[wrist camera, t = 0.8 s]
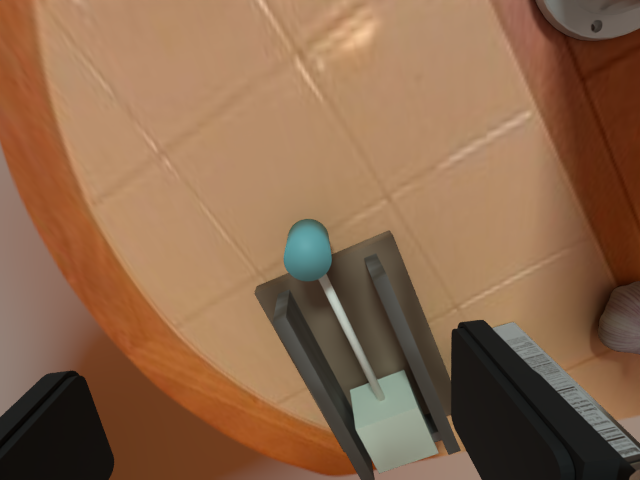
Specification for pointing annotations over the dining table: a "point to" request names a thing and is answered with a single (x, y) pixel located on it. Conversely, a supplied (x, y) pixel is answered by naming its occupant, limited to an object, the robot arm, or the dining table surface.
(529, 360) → the coffee box
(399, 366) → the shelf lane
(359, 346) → the cube with teal knob
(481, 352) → the robot arm
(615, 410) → the dining table surface
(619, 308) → the garlic bulb
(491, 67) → the dining table surface
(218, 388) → the dining table surface
